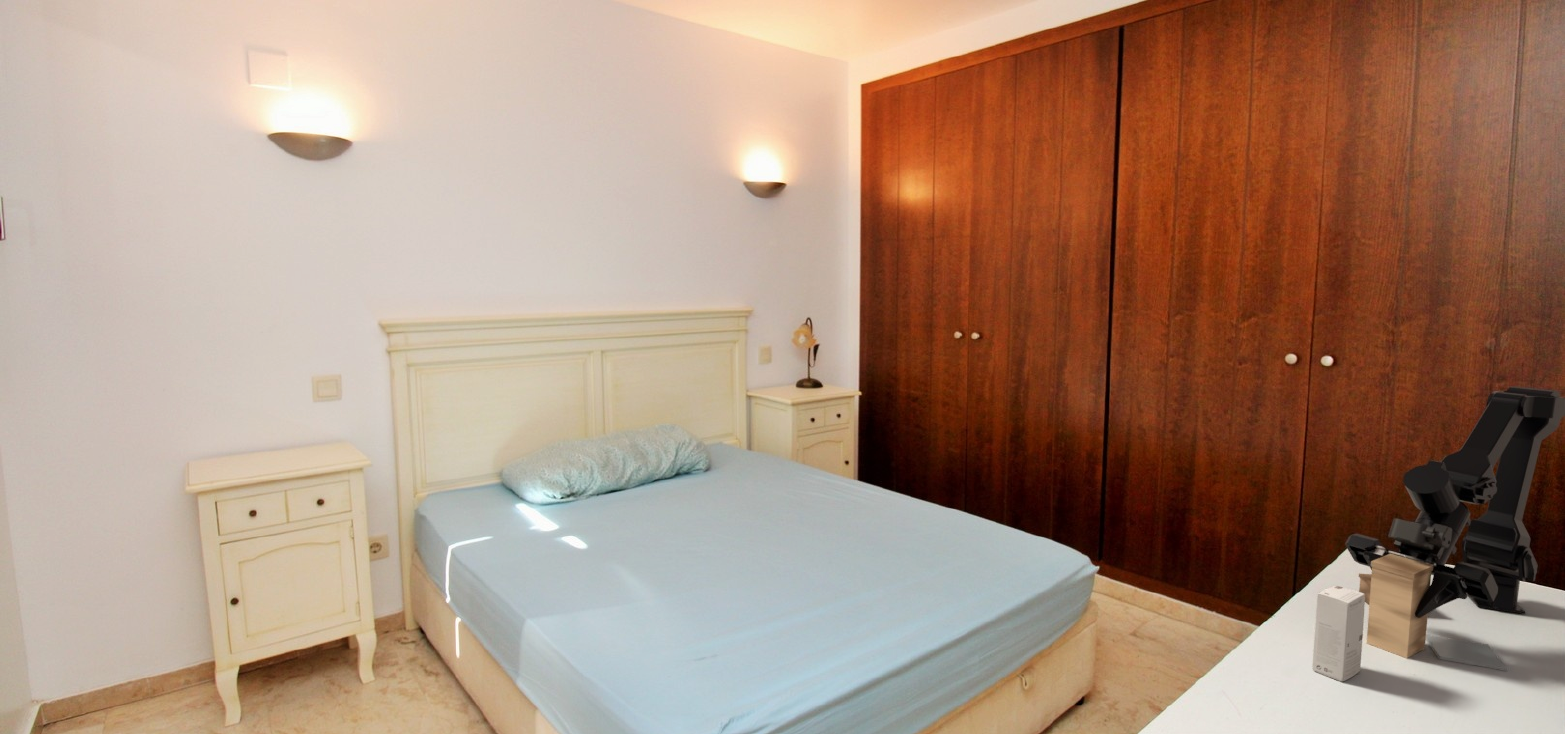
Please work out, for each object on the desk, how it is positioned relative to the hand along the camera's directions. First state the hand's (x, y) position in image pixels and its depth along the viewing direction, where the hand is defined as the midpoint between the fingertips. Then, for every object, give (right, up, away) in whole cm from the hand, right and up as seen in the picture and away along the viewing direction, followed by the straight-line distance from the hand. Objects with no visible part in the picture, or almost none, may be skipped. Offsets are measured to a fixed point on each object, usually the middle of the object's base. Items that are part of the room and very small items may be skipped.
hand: (1394, 608), depth 121 cm
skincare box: (-13, -8, -6) cm, 16 cm away
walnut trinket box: (+12, -5, +16) cm, 21 cm away
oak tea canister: (+1, -6, +1) cm, 7 cm away
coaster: (+10, -7, -1) cm, 12 cm away
